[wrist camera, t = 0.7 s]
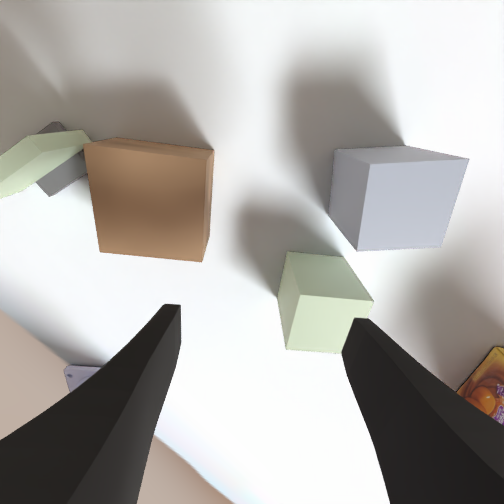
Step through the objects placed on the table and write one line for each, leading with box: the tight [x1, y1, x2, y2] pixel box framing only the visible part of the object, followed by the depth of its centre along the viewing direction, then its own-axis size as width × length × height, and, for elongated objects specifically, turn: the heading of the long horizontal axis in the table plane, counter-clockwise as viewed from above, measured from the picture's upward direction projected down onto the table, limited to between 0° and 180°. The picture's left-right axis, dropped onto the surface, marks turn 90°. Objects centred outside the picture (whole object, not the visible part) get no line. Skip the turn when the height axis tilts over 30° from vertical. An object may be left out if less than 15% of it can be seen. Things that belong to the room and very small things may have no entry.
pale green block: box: [0, 122, 92, 199], centre depth 15 cm, size 3×6×5 cm, turn 119°
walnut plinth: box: [83, 137, 214, 262], centre depth 16 cm, size 6×6×4 cm
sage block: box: [277, 251, 374, 354], centre depth 19 cm, size 4×4×6 cm
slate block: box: [329, 145, 469, 252], centre depth 16 cm, size 4×4×6 cm
